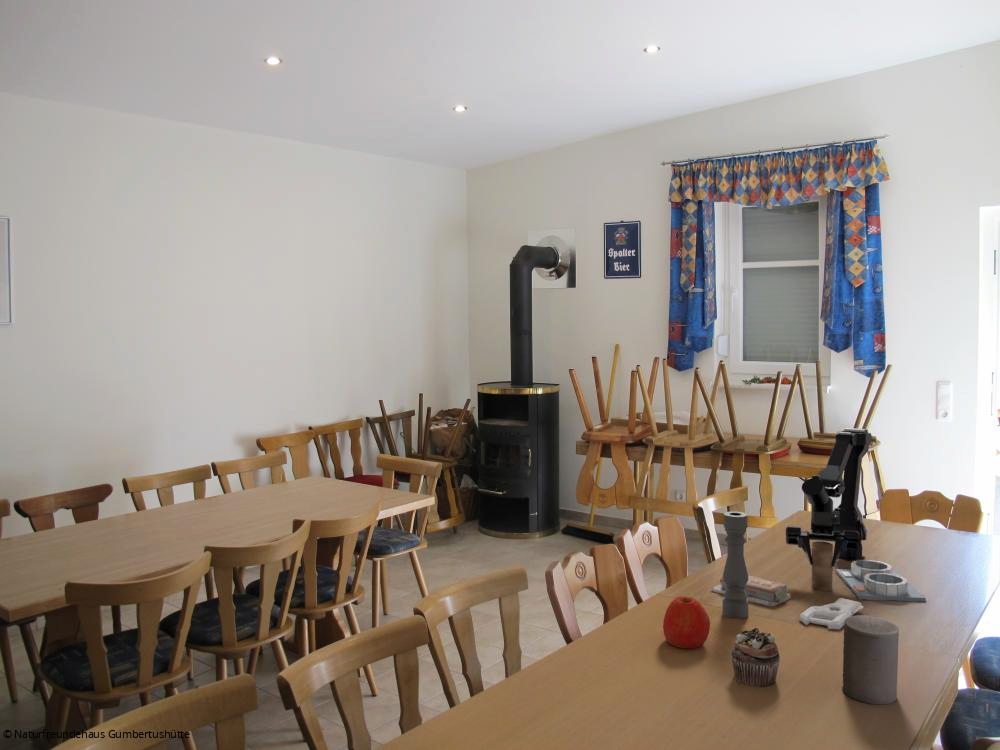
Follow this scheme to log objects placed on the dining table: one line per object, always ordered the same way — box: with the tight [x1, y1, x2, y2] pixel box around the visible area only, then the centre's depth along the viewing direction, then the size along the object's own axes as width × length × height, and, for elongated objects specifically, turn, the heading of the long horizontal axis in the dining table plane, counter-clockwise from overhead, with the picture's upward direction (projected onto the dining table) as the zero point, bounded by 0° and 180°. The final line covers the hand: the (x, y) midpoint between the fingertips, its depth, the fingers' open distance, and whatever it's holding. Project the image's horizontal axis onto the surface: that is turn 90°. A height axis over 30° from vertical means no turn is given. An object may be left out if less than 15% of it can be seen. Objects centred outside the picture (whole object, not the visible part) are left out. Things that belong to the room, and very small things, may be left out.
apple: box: [662, 596, 711, 649], centre depth 181 cm, size 10×10×10 cm
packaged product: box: [710, 574, 792, 608], centre depth 213 cm, size 18×5×10 cm
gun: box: [798, 597, 864, 630], centre depth 196 cm, size 18×4×10 cm
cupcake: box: [729, 627, 781, 688], centre depth 163 cm, size 10×10×10 cm
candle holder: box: [722, 511, 749, 620], centre depth 198 cm, size 6×6×25 cm
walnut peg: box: [811, 540, 834, 592], centre depth 217 cm, size 5×5×12 cm
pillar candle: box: [841, 614, 900, 705], centre depth 155 cm, size 10×10×15 cm
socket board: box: [835, 559, 927, 603], centre depth 218 cm, size 23×16×4 cm
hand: (822, 565), depth 216 cm, fingers closed on walnut peg, 5 cm apart
